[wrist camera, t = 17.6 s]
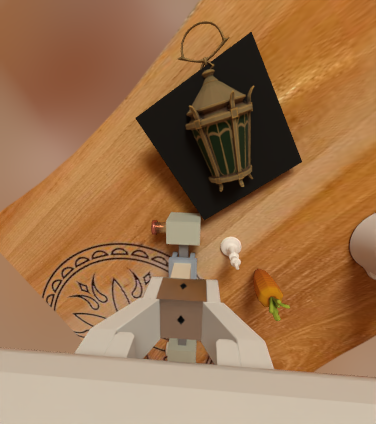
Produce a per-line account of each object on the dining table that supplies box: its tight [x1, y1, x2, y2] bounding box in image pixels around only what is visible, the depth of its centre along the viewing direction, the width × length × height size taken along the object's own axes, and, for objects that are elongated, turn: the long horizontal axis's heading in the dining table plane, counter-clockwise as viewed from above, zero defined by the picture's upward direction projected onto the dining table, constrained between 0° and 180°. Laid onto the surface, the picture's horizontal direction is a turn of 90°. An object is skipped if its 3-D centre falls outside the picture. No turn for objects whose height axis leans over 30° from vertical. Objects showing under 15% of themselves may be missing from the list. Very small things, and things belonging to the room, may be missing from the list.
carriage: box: [169, 252, 197, 279], centre depth 44 cm, size 6×5×11 cm
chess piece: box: [220, 237, 241, 270], centre depth 46 cm, size 5×5×10 cm
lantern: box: [136, 21, 302, 220], centre depth 39 cm, size 14×23×30 cm
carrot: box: [254, 269, 290, 321], centre depth 45 cm, size 5×5×15 cm
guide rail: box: [166, 212, 201, 363], centre depth 51 cm, size 8×38×7 cm, turn 179°
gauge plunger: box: [151, 220, 166, 235], centre depth 46 cm, size 10×3×3 cm, turn 89°
